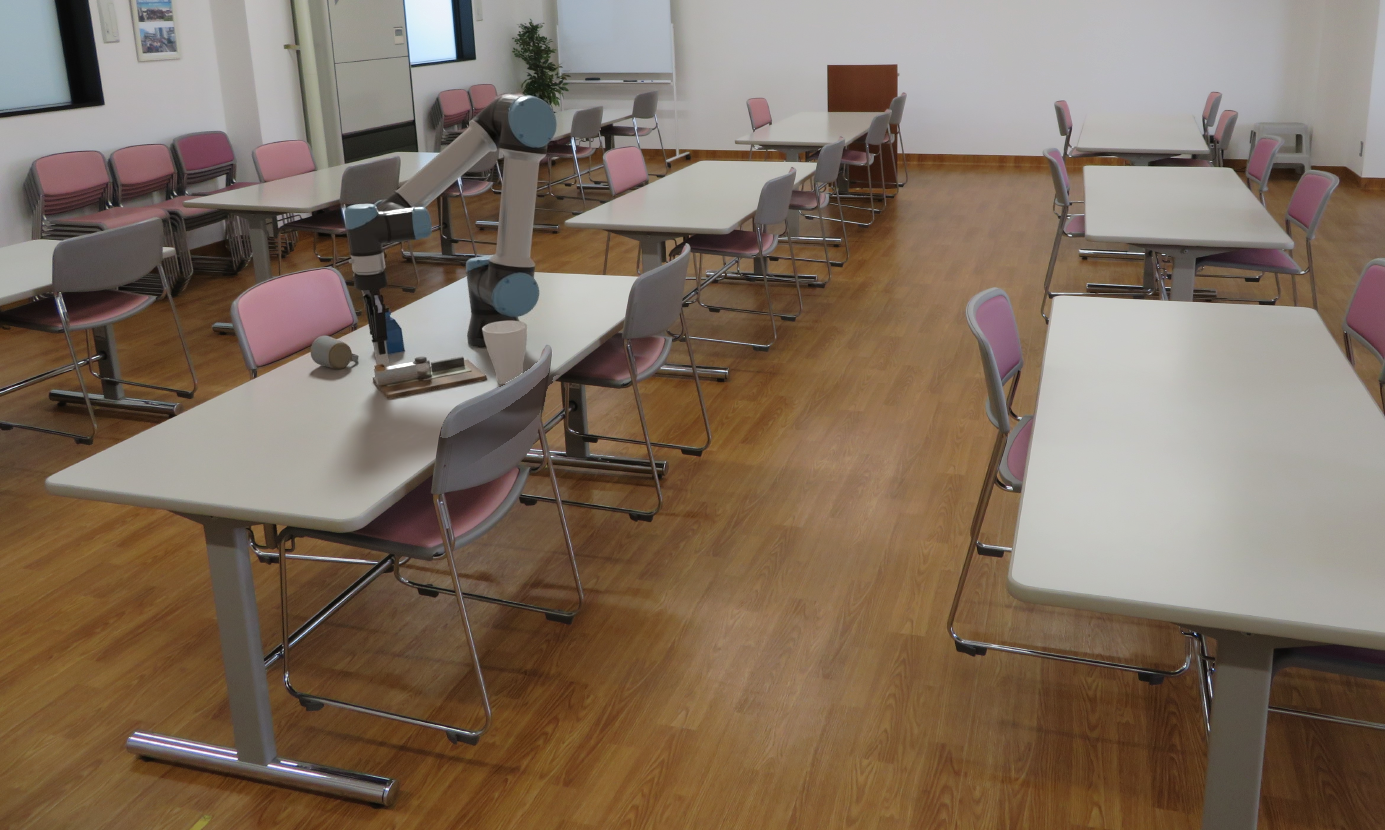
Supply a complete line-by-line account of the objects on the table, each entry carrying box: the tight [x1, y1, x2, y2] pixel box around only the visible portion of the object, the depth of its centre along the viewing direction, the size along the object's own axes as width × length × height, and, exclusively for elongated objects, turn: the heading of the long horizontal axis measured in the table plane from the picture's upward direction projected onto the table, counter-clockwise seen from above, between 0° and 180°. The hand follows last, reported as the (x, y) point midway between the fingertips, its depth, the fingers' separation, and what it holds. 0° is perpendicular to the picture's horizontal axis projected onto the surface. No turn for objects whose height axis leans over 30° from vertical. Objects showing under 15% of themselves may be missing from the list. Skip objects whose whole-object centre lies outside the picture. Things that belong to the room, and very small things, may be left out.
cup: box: [482, 320, 528, 385], centre depth 254 cm, size 10×10×14 cm
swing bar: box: [373, 359, 431, 387], centre depth 255 cm, size 13×4×4 cm, turn 118°
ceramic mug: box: [310, 335, 359, 370], centre depth 271 cm, size 11×8×8 cm
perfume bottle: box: [371, 305, 406, 355], centre depth 280 cm, size 6×6×12 cm
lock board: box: [372, 356, 488, 400], centre depth 257 cm, size 24×15×6 cm, turn 118°
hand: (383, 365), depth 259 cm, fingers closed
